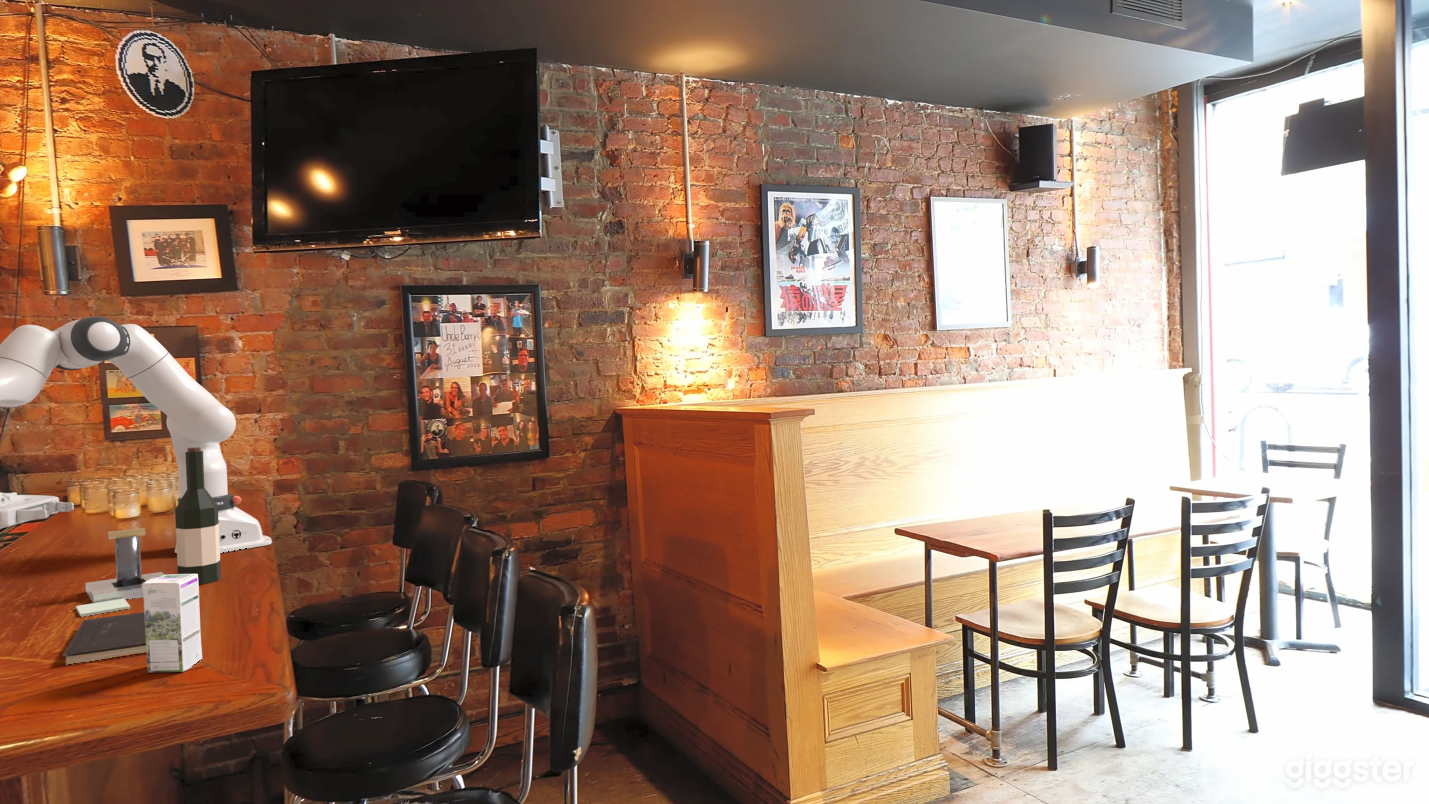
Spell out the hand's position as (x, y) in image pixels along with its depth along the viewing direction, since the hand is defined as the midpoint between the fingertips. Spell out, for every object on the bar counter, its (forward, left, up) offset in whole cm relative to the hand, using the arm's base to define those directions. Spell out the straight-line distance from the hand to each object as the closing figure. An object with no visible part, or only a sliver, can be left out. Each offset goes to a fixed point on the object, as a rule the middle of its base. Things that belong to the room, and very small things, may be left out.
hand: (60, 510), depth 183 cm
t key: (-11, +6, -18) cm, 22 cm away
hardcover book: (-6, +45, -19) cm, 49 cm away
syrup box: (-9, +68, -19) cm, 71 cm away
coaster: (-5, +18, -18) cm, 26 cm away
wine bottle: (-24, +6, -18) cm, 31 cm away
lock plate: (-11, +6, -18) cm, 22 cm away
